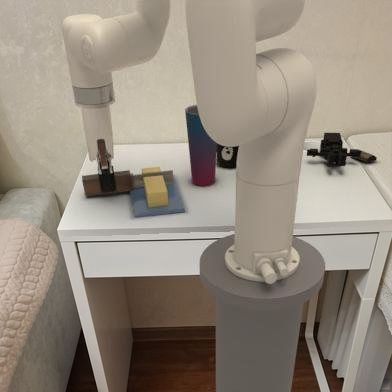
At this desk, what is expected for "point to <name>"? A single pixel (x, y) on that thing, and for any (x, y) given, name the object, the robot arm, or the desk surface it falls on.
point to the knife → (122, 181)
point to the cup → (200, 149)
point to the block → (366, 156)
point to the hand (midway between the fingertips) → (108, 187)
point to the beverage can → (227, 156)
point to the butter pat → (151, 170)
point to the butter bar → (155, 191)
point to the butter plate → (173, 206)
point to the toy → (333, 150)
